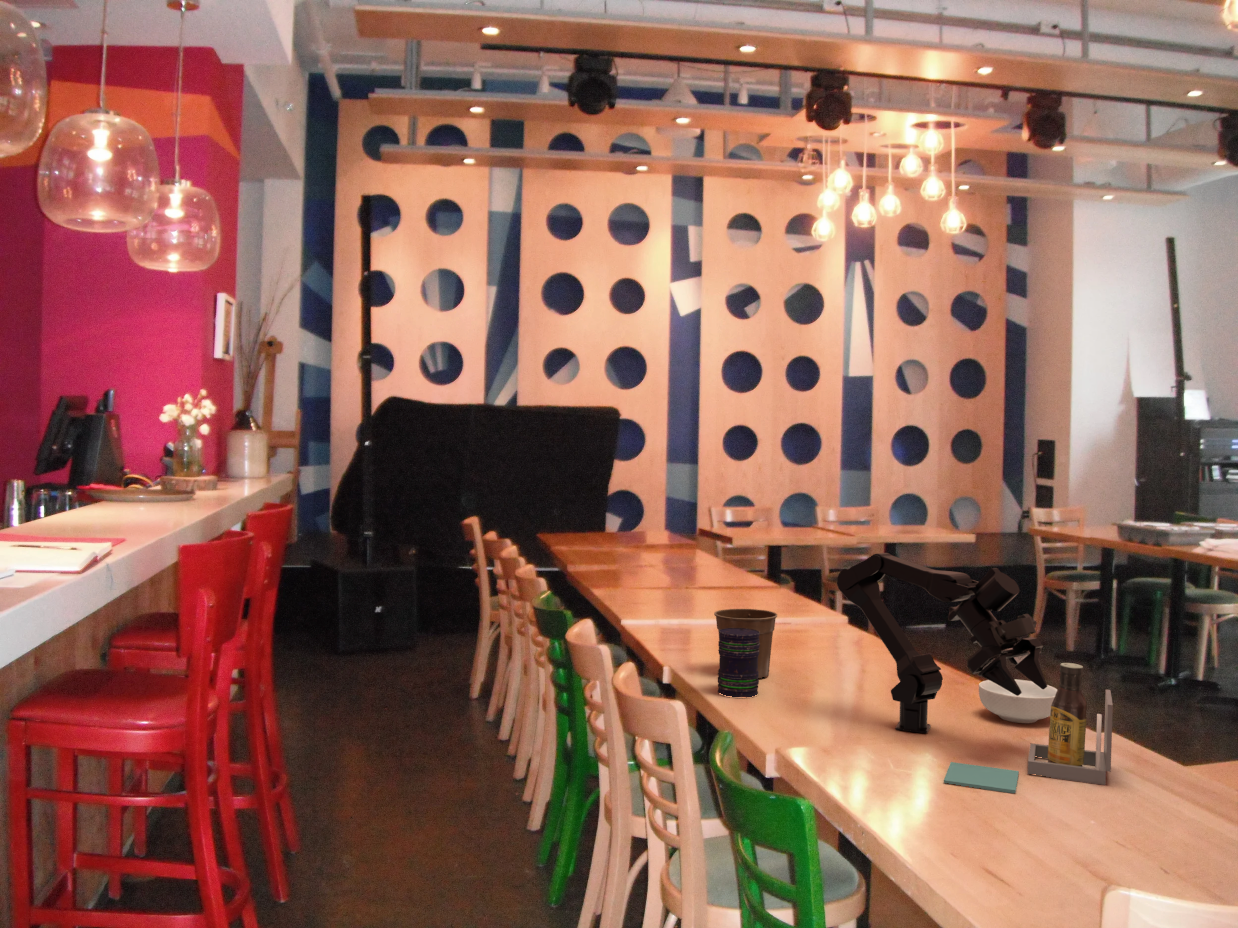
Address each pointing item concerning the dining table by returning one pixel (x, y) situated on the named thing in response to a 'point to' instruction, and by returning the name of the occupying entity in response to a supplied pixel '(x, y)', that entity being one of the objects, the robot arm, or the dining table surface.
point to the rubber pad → (982, 777)
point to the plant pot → (755, 621)
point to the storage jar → (738, 662)
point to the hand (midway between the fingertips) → (1032, 691)
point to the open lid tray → (1090, 757)
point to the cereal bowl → (1017, 701)
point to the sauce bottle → (1068, 718)
